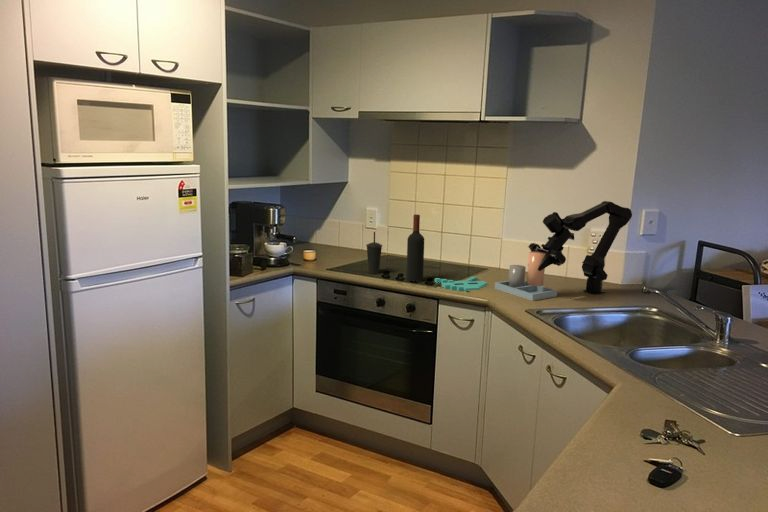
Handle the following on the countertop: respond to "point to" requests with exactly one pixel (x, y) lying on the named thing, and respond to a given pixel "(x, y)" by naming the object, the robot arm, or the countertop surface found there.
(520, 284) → the grey cylinder
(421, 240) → the wine bottle
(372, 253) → the drinking cup
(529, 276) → the peach round cylinder
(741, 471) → the countertop surface
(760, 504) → the countertop surface
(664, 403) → the countertop surface
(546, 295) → the cup rack
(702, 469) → the countertop surface
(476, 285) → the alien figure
